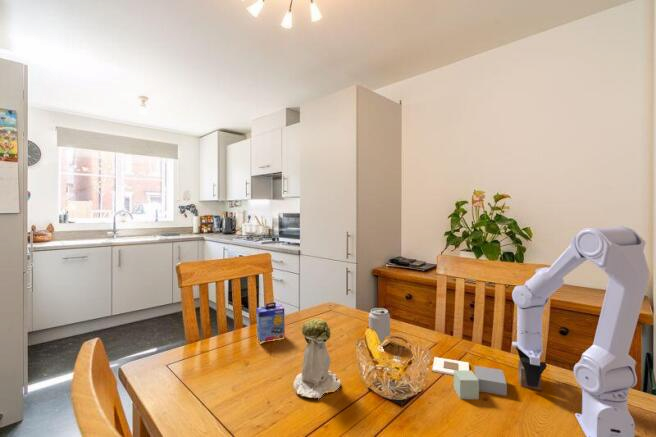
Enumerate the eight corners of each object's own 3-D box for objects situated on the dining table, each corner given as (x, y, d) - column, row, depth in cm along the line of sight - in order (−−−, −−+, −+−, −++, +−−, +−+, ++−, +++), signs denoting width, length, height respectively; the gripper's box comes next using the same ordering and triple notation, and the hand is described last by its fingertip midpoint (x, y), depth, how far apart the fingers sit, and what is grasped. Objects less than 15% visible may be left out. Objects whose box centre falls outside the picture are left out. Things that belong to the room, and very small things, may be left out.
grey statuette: (285, 385, 87) (283, 320, 86) (322, 369, 95) (321, 310, 94) (308, 406, 77) (306, 334, 77) (347, 386, 85) (346, 321, 84)
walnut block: (541, 390, 82) (541, 371, 81) (520, 386, 83) (520, 368, 83) (537, 380, 86) (537, 363, 86) (518, 377, 88) (518, 360, 87)
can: (390, 348, 107) (389, 314, 106) (368, 347, 108) (368, 313, 108) (390, 339, 114) (390, 307, 114) (370, 338, 116) (369, 306, 115)
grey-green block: (478, 399, 78) (478, 380, 78) (460, 399, 79) (460, 380, 78) (471, 388, 83) (471, 370, 83) (453, 388, 83) (453, 370, 83)
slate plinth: (506, 397, 79) (506, 383, 79) (476, 391, 82) (476, 378, 82) (502, 382, 86) (502, 370, 86) (474, 377, 89) (474, 365, 88)
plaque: (469, 378, 88) (469, 375, 88) (432, 371, 92) (432, 368, 92) (468, 364, 95) (468, 361, 95) (434, 358, 99) (434, 356, 99)
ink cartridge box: (259, 345, 112) (258, 305, 111) (256, 339, 117) (255, 301, 116) (285, 339, 116) (284, 301, 115) (281, 334, 121) (280, 297, 120)
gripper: (508, 318, 92) (508, 362, 93) (516, 338, 79) (516, 389, 79) (536, 321, 89) (536, 367, 90) (550, 342, 76) (549, 395, 77)
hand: (529, 378), depth 85 cm, fingers open, 7 cm apart
